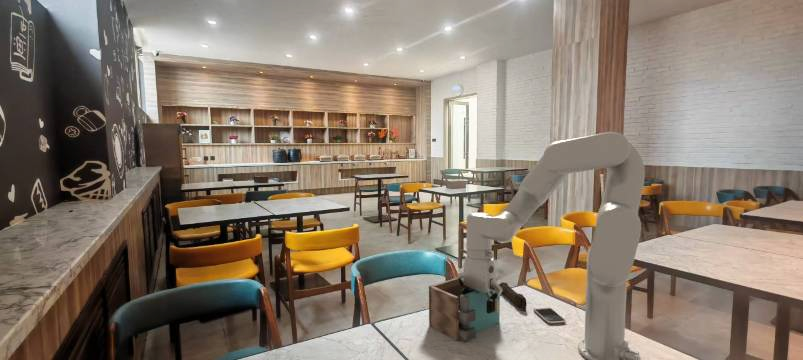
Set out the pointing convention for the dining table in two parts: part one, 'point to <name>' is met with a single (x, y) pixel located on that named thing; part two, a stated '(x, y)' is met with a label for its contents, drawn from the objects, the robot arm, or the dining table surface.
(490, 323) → the door
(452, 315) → the cabinet
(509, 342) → the dining table surface
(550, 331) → the dining table surface
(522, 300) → the hand tool
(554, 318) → the cell phone
